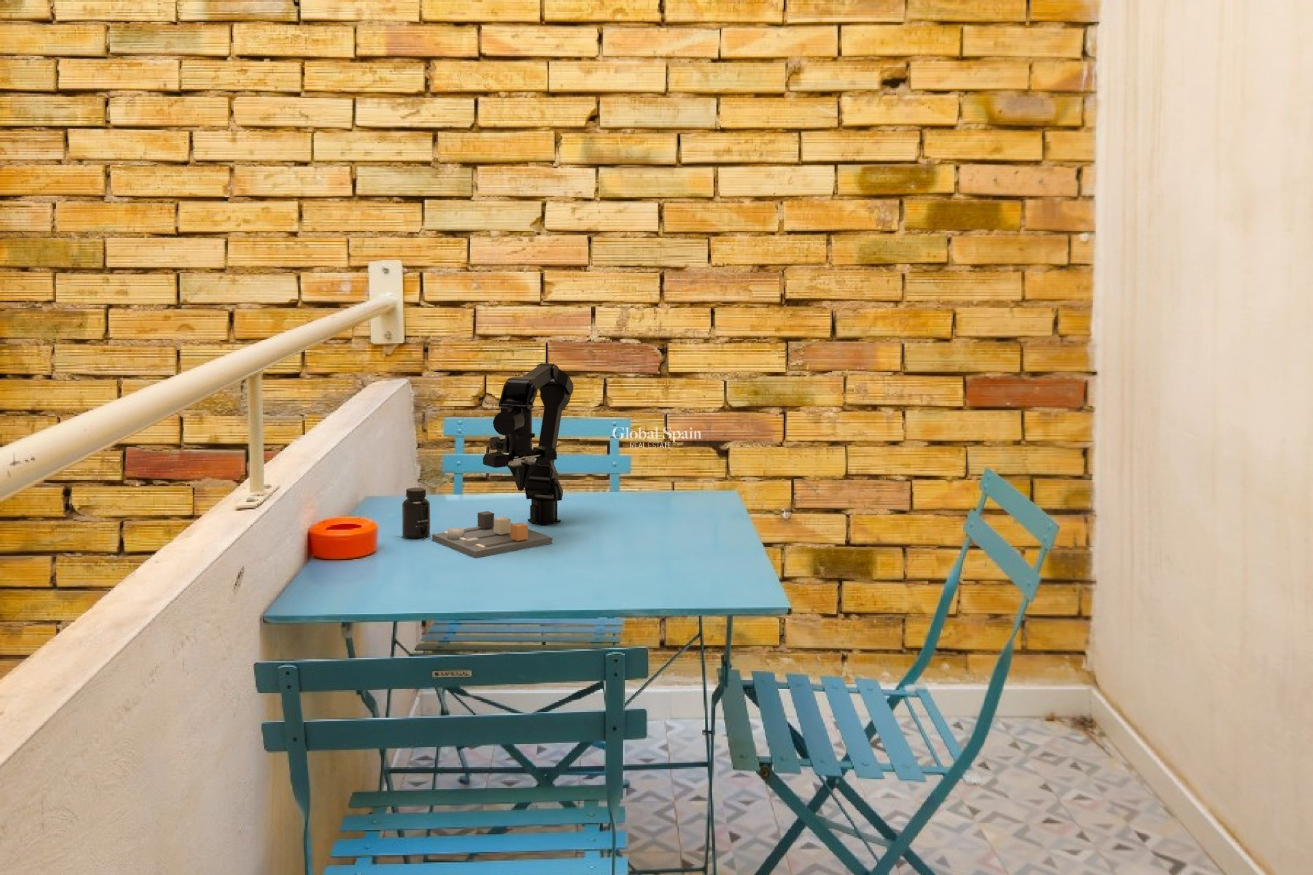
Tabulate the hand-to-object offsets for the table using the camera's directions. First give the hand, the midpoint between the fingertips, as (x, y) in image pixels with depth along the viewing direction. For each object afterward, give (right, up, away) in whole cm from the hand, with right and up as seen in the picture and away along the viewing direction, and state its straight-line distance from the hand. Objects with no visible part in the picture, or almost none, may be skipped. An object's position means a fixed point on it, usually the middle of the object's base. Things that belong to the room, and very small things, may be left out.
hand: (520, 490), depth 307 cm
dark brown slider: (-9, -9, +4) cm, 14 cm away
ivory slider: (-4, -10, -2) cm, 11 cm away
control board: (-7, -13, -3) cm, 15 cm away
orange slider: (0, -11, -7) cm, 14 cm away
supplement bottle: (-26, -12, +1) cm, 29 cm away
